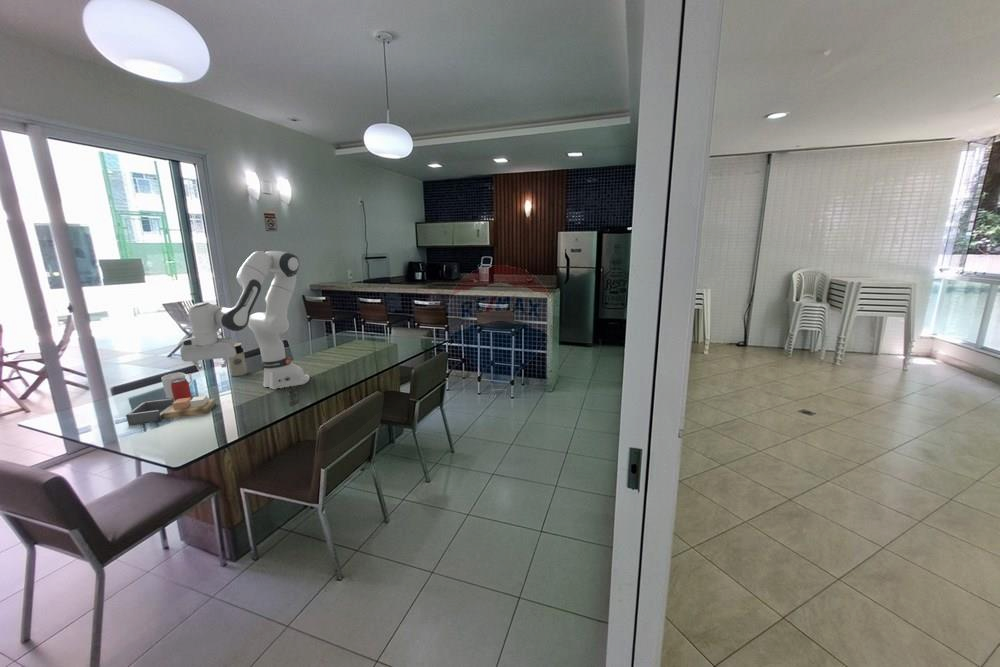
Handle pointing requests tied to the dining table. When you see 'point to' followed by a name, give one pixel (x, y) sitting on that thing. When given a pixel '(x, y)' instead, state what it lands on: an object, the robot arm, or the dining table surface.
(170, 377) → the mug
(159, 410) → the box
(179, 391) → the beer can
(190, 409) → the wooden board
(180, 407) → the tile terracotta
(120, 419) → the dining table surface
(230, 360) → the travel mug
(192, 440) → the dining table surface
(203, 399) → the tile ivory
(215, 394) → the dining table surface
